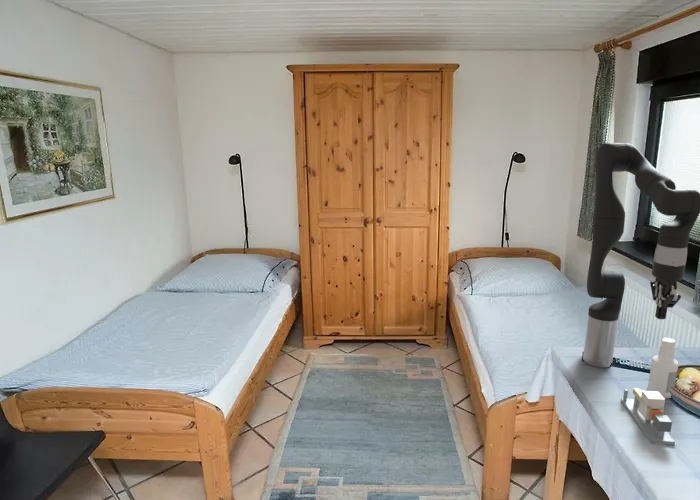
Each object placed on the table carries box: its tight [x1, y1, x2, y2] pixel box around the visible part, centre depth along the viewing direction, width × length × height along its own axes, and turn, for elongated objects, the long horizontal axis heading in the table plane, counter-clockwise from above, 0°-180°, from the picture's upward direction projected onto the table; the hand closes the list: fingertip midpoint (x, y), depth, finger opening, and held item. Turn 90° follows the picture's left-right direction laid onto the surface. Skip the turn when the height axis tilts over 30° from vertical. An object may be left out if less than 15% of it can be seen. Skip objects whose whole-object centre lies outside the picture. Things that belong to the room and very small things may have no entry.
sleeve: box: [639, 390, 666, 420], centre depth 135 cm, size 4×4×6 cm
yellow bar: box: [632, 387, 673, 433], centre depth 136 cm, size 18×3×3 cm, turn 173°
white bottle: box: [647, 337, 679, 399], centre depth 150 cm, size 7×7×18 cm
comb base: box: [620, 388, 676, 446], centre depth 137 cm, size 20×6×4 cm, turn 173°
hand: (660, 318), depth 141 cm, fingers closed
